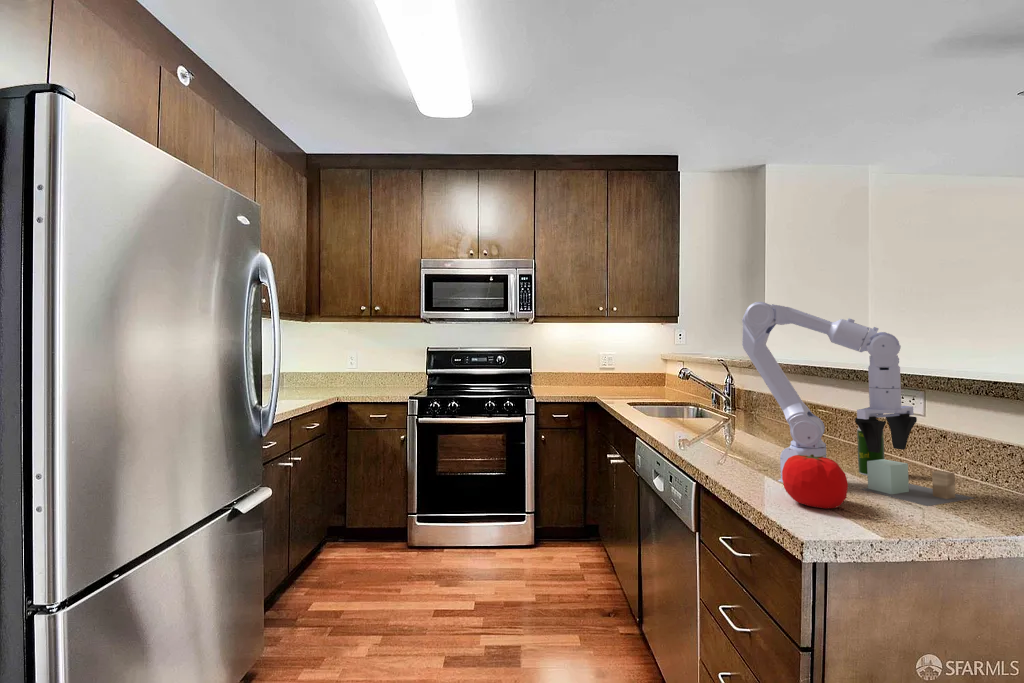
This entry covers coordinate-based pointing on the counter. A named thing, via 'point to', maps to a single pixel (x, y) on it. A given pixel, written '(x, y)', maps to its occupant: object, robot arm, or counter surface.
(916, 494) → the rubber mat
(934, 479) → the beech post
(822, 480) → the tomato
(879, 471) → the pale green block
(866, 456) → the beer can
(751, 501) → the counter surface
